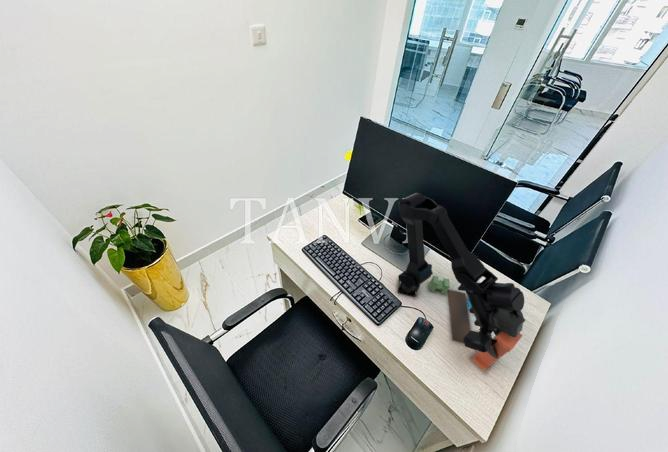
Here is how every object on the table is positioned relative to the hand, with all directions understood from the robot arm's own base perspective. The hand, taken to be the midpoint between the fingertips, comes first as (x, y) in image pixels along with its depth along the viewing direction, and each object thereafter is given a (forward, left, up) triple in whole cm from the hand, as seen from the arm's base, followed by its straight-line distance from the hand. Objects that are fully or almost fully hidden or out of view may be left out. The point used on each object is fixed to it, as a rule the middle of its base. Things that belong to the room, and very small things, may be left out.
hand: (500, 352), depth 73 cm
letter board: (-7, +14, -8) cm, 18 cm away
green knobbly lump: (-14, +24, -8) cm, 29 cm away
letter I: (-1, +1, -8) cm, 8 cm away
